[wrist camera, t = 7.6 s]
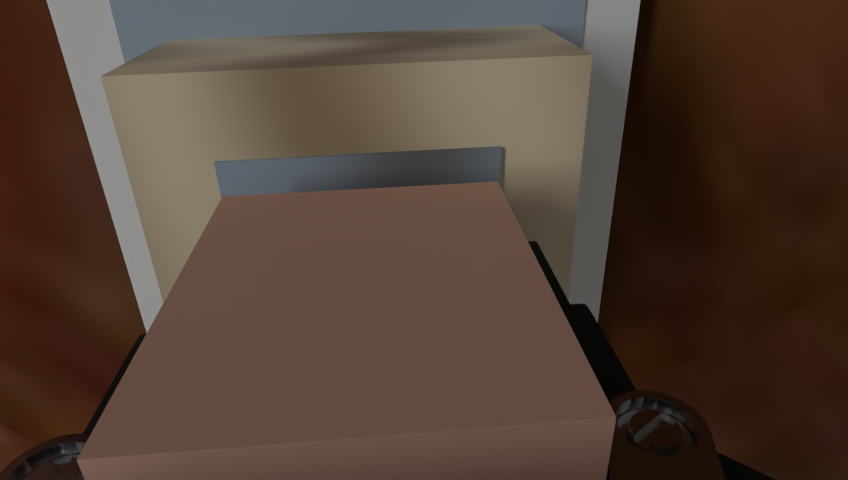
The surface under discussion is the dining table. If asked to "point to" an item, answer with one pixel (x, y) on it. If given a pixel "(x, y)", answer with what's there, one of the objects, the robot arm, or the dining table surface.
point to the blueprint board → (348, 13)
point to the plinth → (352, 124)
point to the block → (358, 350)
